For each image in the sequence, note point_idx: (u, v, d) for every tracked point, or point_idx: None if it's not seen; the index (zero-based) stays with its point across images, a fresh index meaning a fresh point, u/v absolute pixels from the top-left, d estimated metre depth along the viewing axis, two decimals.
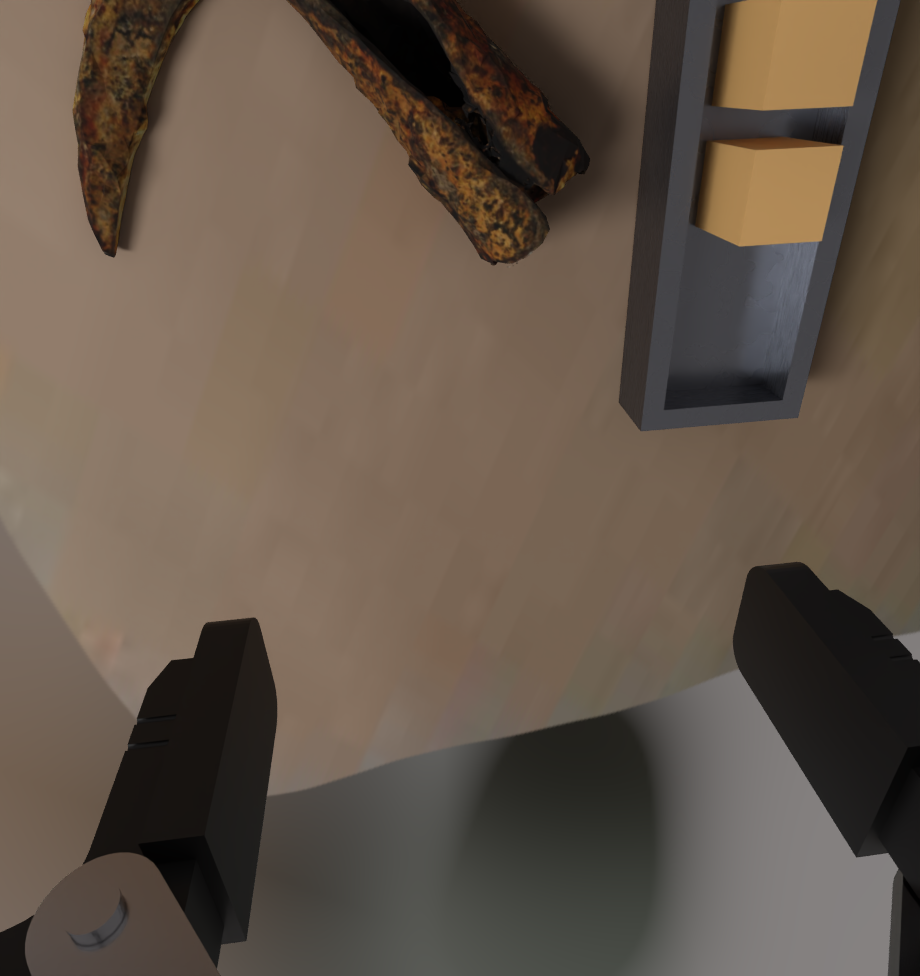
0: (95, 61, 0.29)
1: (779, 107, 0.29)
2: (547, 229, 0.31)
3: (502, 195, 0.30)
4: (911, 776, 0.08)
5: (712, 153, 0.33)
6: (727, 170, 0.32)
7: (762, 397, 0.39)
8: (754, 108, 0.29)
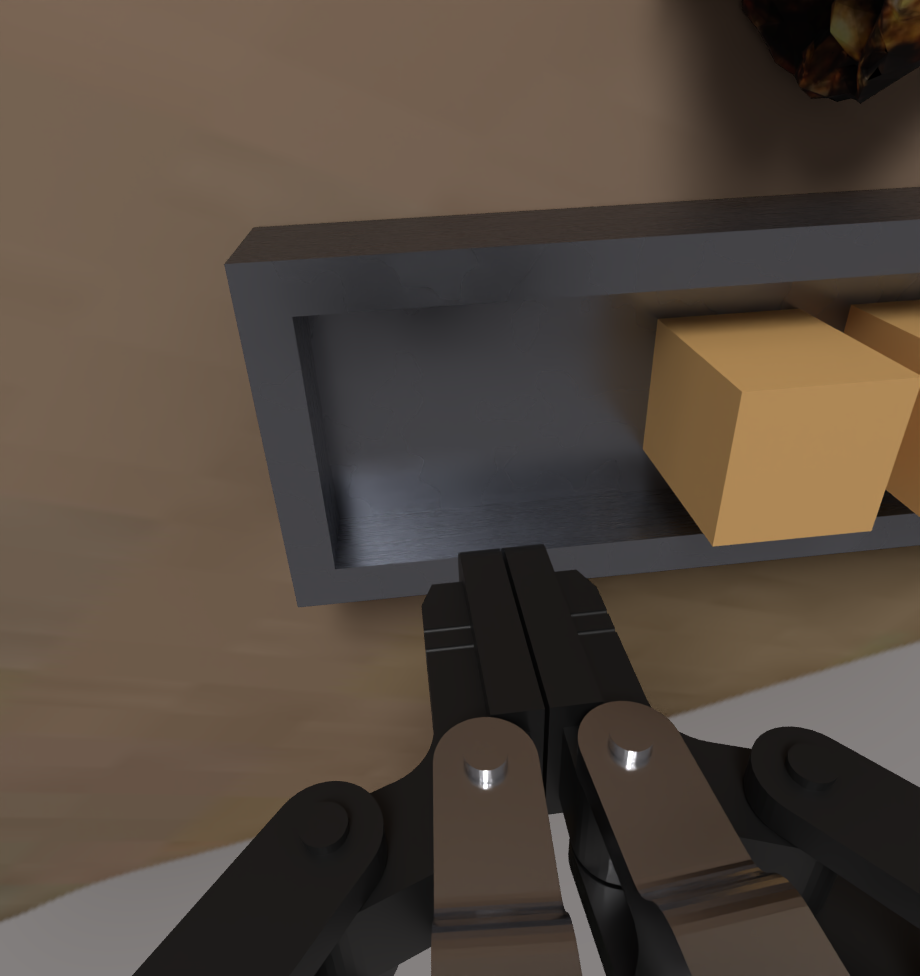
0: None
1: None
2: None
3: None
4: (565, 736, 0.09)
5: (796, 318, 0.18)
6: (816, 344, 0.16)
7: (331, 529, 0.19)
8: None
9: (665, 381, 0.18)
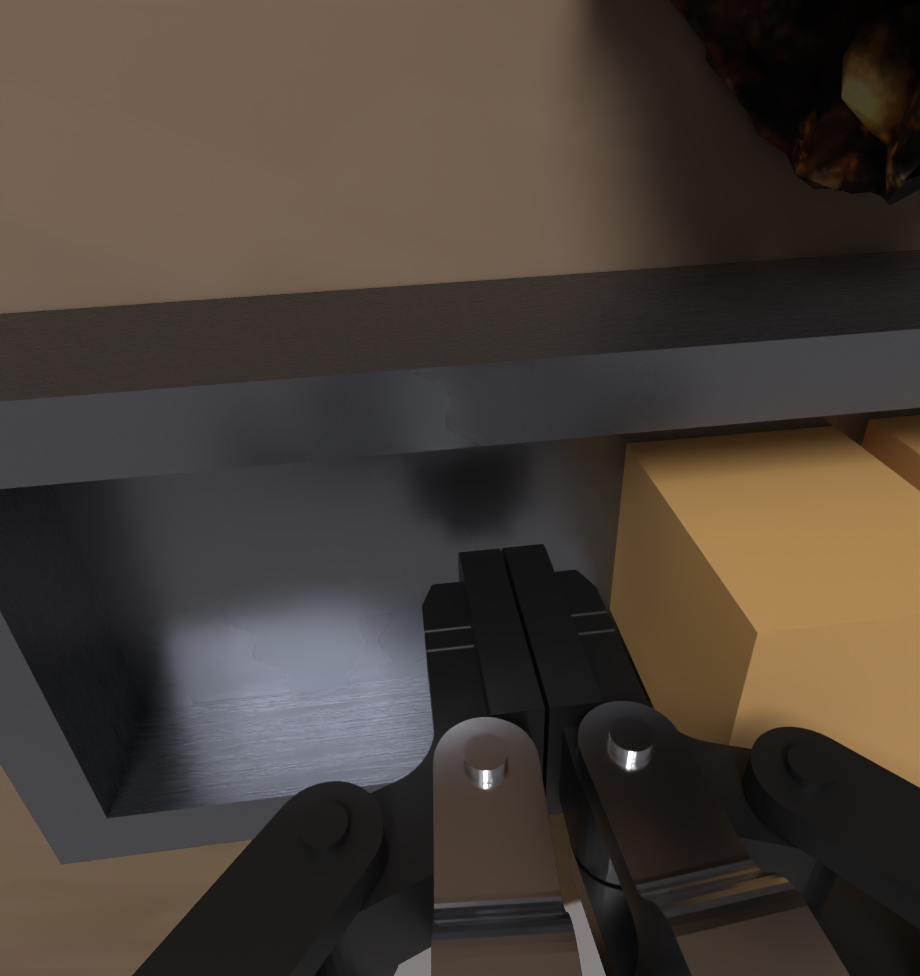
0: None
1: None
2: None
3: None
4: (565, 736, 0.09)
5: (832, 448, 0.12)
6: (870, 507, 0.10)
7: (101, 758, 0.12)
8: None
9: (637, 537, 0.12)
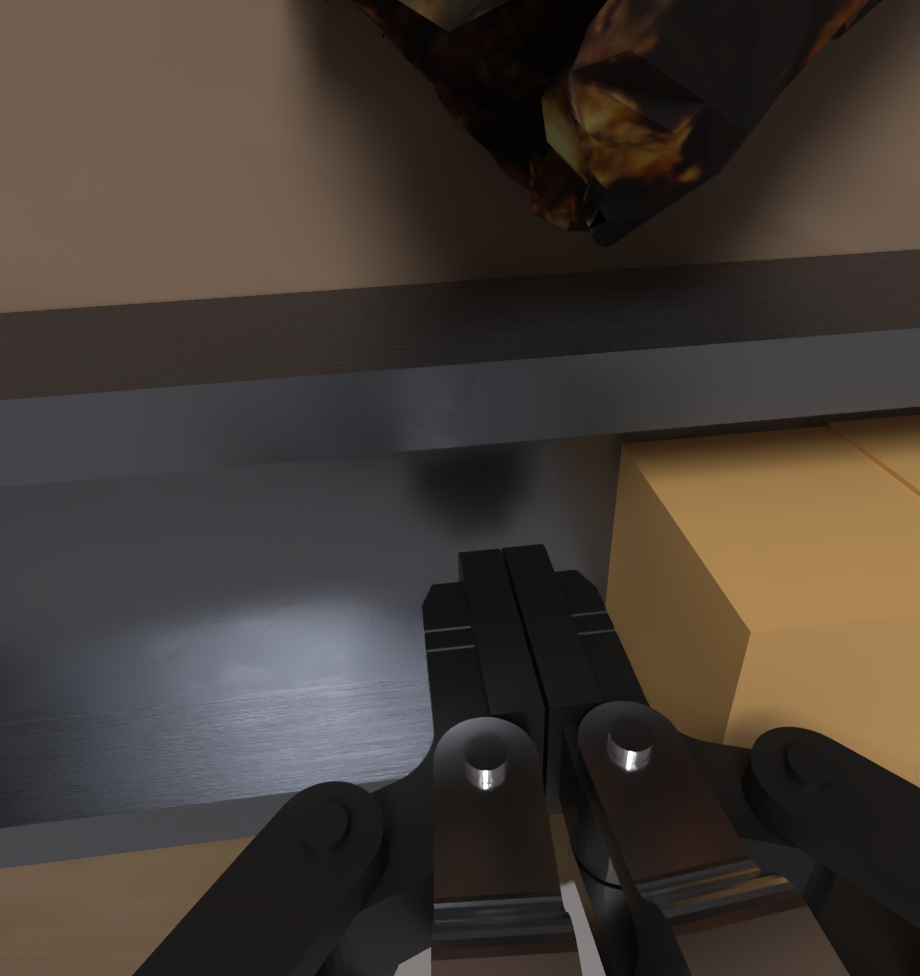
0: None
1: None
2: (442, 21, 0.06)
3: None
4: (565, 735, 0.09)
5: (826, 448, 0.12)
6: (864, 507, 0.11)
7: None
8: None
9: (632, 536, 0.12)
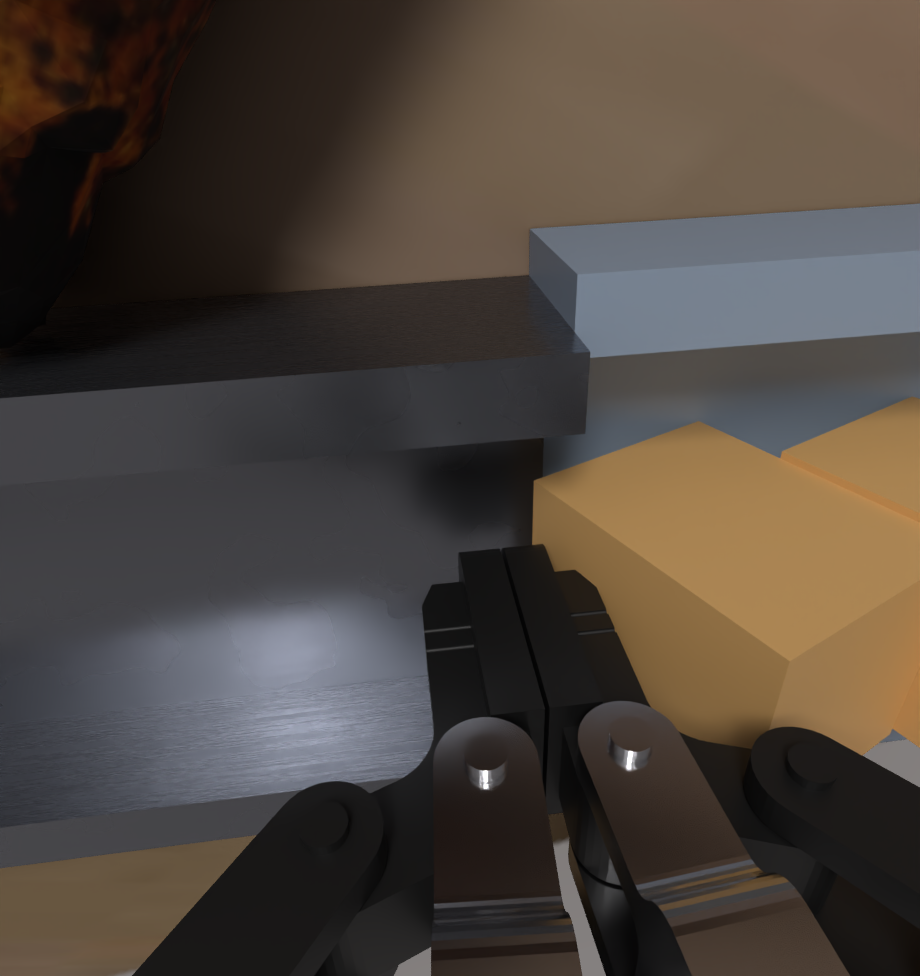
0: None
1: None
2: None
3: None
4: (565, 735, 0.09)
5: (713, 443, 0.13)
6: (783, 497, 0.11)
7: None
8: None
9: None
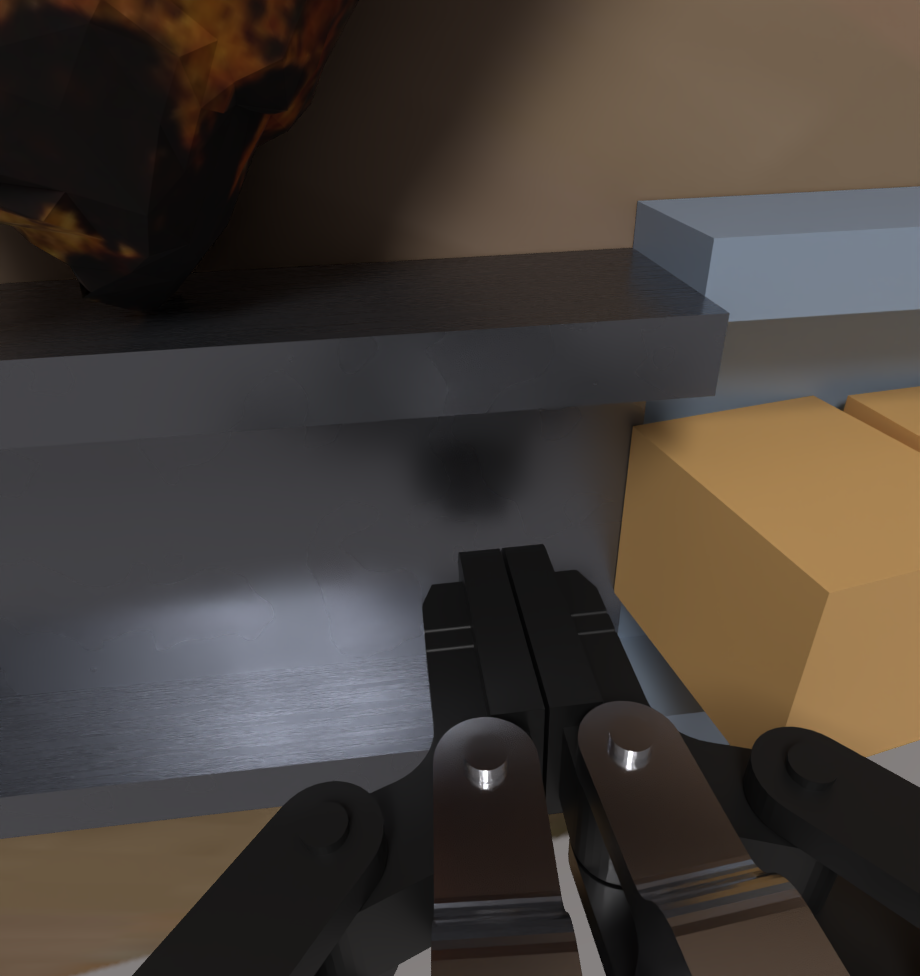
0: None
1: None
2: None
3: None
4: (565, 736, 0.09)
5: (821, 415, 0.13)
6: (877, 467, 0.11)
7: None
8: None
9: (653, 517, 0.13)
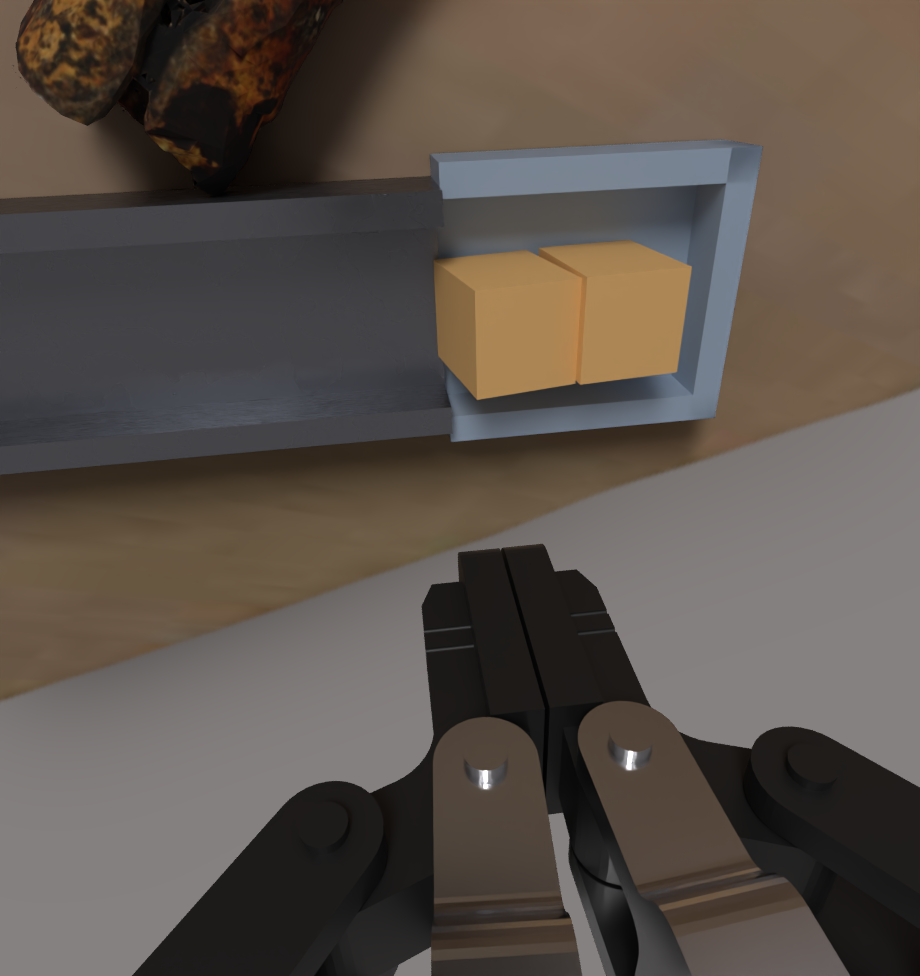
0: None
1: (588, 297, 0.24)
2: (87, 122, 0.20)
3: (114, 32, 0.19)
4: (565, 736, 0.09)
5: (522, 255, 0.27)
6: (528, 266, 0.26)
7: None
8: (580, 272, 0.24)
9: (442, 301, 0.27)
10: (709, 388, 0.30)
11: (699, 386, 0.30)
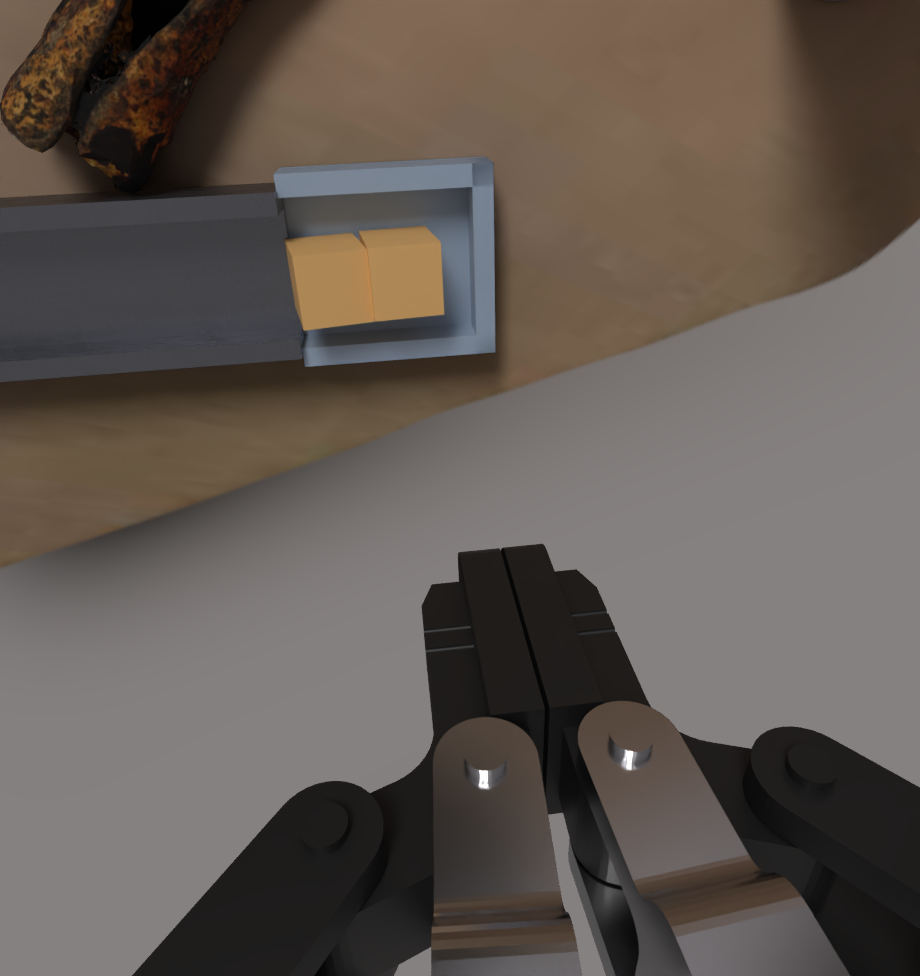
0: None
1: (370, 262, 0.37)
2: (42, 150, 0.33)
3: (56, 98, 0.32)
4: (565, 736, 0.09)
5: (345, 235, 0.40)
6: (341, 242, 0.39)
7: None
8: (367, 245, 0.37)
9: (289, 266, 0.40)
10: (487, 330, 0.43)
11: (479, 328, 0.43)
